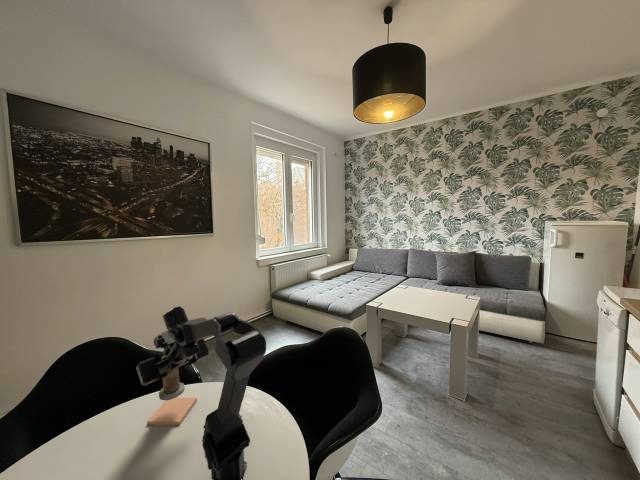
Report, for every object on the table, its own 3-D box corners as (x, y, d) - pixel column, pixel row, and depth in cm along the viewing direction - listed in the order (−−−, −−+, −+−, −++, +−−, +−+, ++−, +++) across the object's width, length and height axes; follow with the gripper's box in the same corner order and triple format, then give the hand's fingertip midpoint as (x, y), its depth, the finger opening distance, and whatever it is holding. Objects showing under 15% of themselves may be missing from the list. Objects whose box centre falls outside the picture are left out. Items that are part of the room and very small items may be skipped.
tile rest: (197, 400, 85) (196, 397, 85) (179, 424, 75) (179, 421, 75) (168, 400, 85) (168, 397, 85) (147, 424, 75) (147, 421, 75)
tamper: (189, 387, 81) (187, 352, 80) (171, 402, 75) (168, 364, 74) (173, 383, 83) (170, 349, 82) (153, 397, 77) (150, 360, 76)
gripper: (202, 314, 82) (189, 337, 90) (135, 336, 67) (125, 361, 75) (217, 344, 78) (201, 365, 86) (148, 374, 63) (137, 397, 71)
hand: (168, 371), depth 79 cm, fingers closed on tamper, 4 cm apart
